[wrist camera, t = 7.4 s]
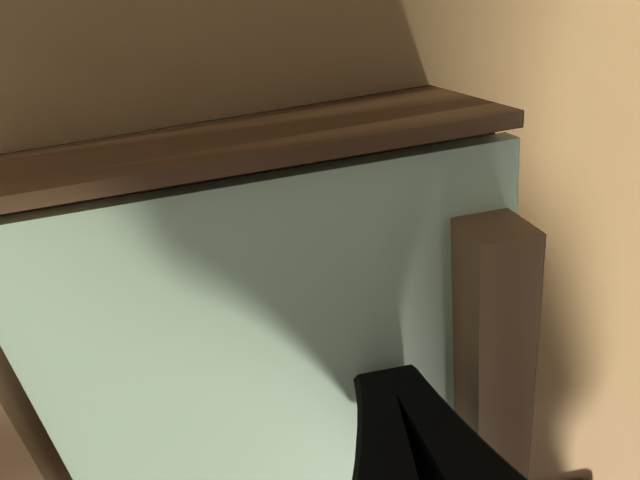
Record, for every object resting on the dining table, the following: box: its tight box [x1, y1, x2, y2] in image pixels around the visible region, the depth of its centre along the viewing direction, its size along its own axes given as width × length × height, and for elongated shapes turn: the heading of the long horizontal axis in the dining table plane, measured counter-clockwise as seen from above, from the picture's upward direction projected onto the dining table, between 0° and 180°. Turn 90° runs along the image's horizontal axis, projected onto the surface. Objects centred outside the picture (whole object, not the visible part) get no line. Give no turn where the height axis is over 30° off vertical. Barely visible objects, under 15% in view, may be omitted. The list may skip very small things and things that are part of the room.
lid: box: [0, 132, 546, 480], centre depth 10 cm, size 11×11×2 cm
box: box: [0, 85, 524, 480], centre depth 13 cm, size 12×12×5 cm
